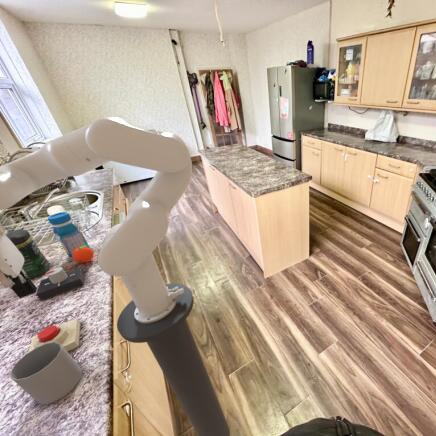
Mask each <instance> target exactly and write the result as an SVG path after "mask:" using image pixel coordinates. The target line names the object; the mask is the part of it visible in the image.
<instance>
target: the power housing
mask: <svg viewBox="0 0 436 436" xmlns="http://www.w3.org/2000/svg"><path fill="white" fill-rule="evenodd" d="M54 325H55V326H57V327H58V329H59V330H60V333H59V334H58V335H57V336H56V337H54V338H53V339H52V340H49V341H47V342H41V341H40V340H39V339H38V337H37V336H38V334H36V335H33V336H32V338H31V342H30V346H29V348H28V352H27V353H29V352H30V351H32V350H33V349H35V348H37V347H39V346H42V345H44V344H46V343H52V342H57V343H60V344H61V345H62V346H63V347H64V349H65V350H66V351H67V352H68V353H69V351H71V350H74V349H76V348H78V347H79V345H80V331H81V321H80V320H79V318H78V317H76V318H74V319H71V320H68V321H66V322H64V323H58V324H54Z"/></svg>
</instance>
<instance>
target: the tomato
mask: <svg viewBox="0 0 436 436" xmlns="http://www.w3.org/2000/svg"><path fill="white" fill-rule="evenodd" d="M85 246H90V248H89V247H85ZM85 246H82V247H79V248H77V249H76V250H75V251H74V252H73V254H72V257H73V261H75V262H76V263H80V264H85V263H88V262H90V261H91V260H92V259H93V258H94V256H95V253H94V249H92V248H93V245H90V244H88V245H85Z"/></svg>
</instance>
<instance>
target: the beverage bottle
mask: <svg viewBox="0 0 436 436" xmlns="http://www.w3.org/2000/svg"><path fill="white" fill-rule="evenodd" d="M47 220H48V222H49V224H50V225H51V226H52V227H53V228H52V232H53V234H54V235H55V238H56V241H58V242H59V243H60V245H61V247H62V248H63V249H64V251H65V253H66V255H67V257H68V258H69V259H70V260H71V259H73V257H72V254H73V252H74V251H75V250H76V249H77V248H79V247H82V246H85V245H89V243H88V241H87V240H86V238H85V236H84V234H83V231H82V229H80V227H79V225H78V223H76V222H74V221H73V220H72V217H71V214H70V213H69V212H68V211H60V212H57V213H54V214H51V215H49V216H48V217H47ZM85 247H89V248H91V245H90V246H85ZM73 260H74V259H73Z"/></svg>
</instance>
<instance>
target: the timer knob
mask: <svg viewBox="0 0 436 436" xmlns="http://www.w3.org/2000/svg"><path fill="white" fill-rule="evenodd" d="M65 272H66V271H65V269H64V268H63V267H61V266H58V267H55V268H52V269H50V270H49V271H46V272H45V275H46V277H47V278H49V279H50V280H51V282H52V283H53V284H56V283H60V282H62V281H64V280H65V279H67V277H68V276H67V274H66V273H65Z"/></svg>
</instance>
